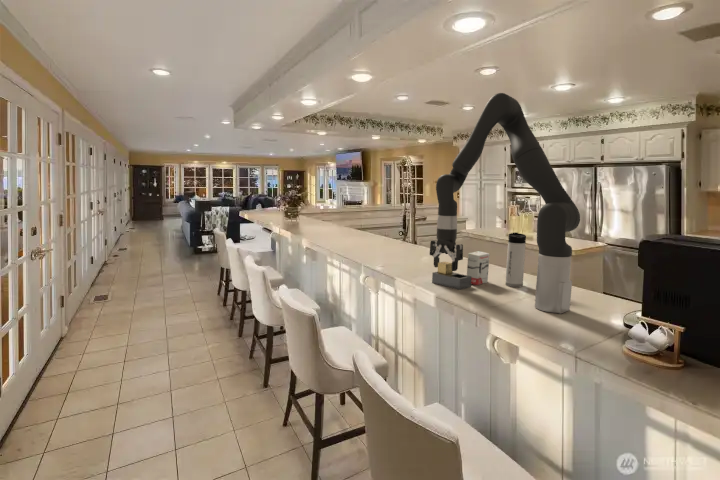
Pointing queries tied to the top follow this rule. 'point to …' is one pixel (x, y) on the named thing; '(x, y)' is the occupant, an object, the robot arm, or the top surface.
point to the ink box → (478, 267)
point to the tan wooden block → (445, 268)
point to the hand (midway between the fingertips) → (445, 268)
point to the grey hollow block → (452, 280)
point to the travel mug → (515, 260)
